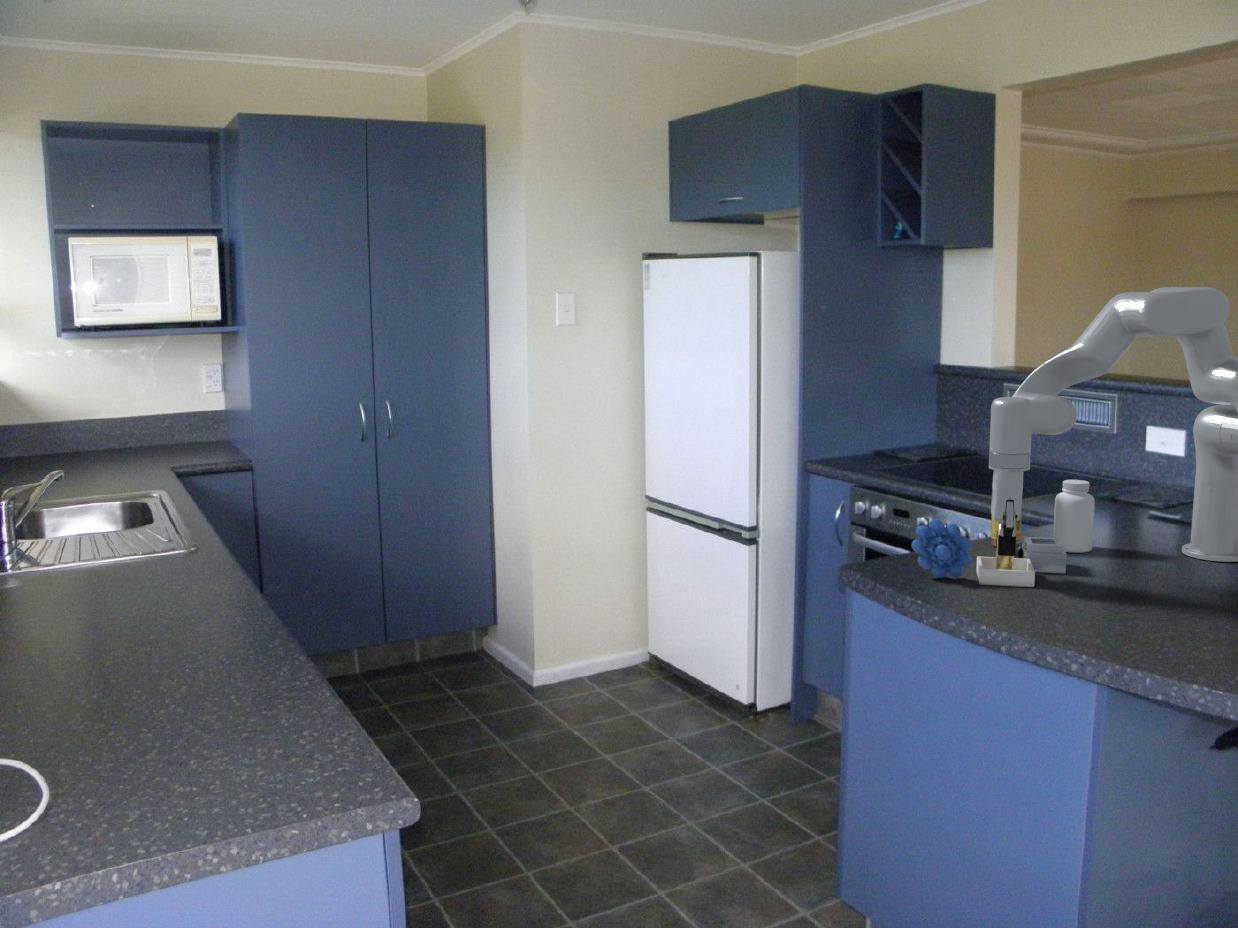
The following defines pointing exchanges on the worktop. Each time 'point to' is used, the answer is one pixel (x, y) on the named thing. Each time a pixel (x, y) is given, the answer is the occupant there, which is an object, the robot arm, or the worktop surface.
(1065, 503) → the pill bottle
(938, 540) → the blue flower
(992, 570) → the tray
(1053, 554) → the tensioner block
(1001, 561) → the pin
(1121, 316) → the robot arm
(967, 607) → the worktop surface
